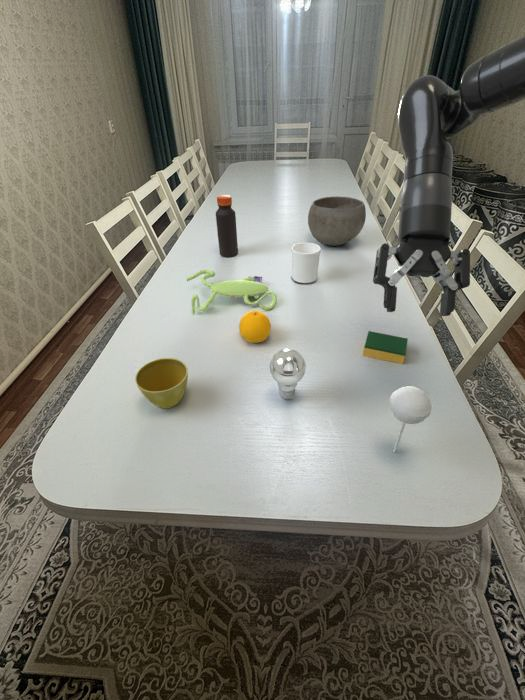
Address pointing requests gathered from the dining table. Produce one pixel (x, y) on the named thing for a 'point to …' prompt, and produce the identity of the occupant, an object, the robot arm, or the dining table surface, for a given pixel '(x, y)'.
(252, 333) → the orange
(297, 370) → the light bulb
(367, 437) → the dining table surface
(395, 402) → the lollipop
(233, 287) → the figurine
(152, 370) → the flower pot
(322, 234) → the bowl
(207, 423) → the dining table surface
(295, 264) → the mug
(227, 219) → the bottle
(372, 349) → the sponge
